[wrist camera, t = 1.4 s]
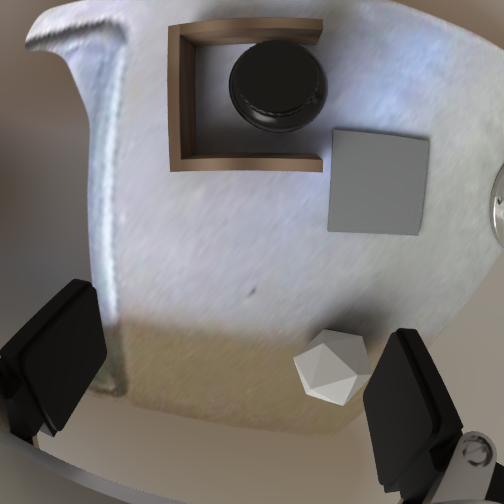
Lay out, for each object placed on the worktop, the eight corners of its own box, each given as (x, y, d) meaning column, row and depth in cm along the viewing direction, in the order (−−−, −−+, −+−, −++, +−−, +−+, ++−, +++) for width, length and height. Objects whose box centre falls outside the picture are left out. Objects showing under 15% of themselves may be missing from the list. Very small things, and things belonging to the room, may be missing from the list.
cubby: (315, 35, 24) (322, 19, 19) (315, 164, 29) (322, 172, 24) (185, 39, 25) (168, 26, 20) (187, 164, 30) (170, 171, 25)
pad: (426, 140, 26) (428, 141, 26) (415, 233, 30) (418, 235, 30) (332, 129, 27) (333, 129, 27) (327, 229, 31) (328, 231, 30)
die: (280, 344, 38) (296, 417, 33) (306, 318, 31) (329, 409, 26) (336, 336, 40) (353, 403, 35) (369, 310, 34) (393, 389, 28)
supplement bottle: (321, 70, 25) (346, 36, 14) (310, 137, 28) (329, 145, 17) (248, 58, 25) (227, 18, 14) (237, 125, 28) (210, 126, 17)
